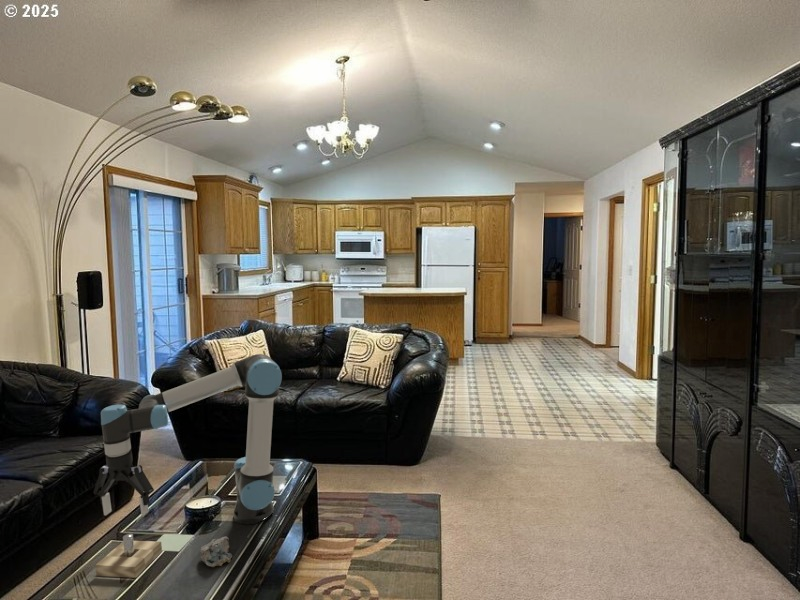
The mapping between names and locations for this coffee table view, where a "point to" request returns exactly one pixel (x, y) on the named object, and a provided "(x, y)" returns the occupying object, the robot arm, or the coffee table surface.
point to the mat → (173, 541)
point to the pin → (128, 545)
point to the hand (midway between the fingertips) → (126, 513)
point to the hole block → (128, 560)
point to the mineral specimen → (216, 552)
